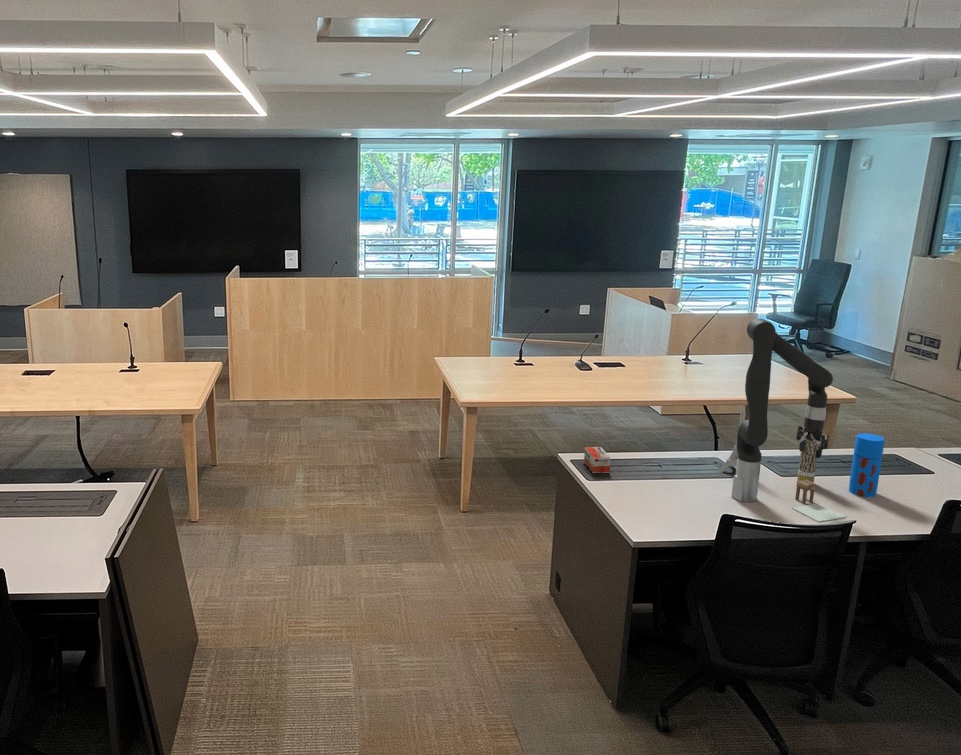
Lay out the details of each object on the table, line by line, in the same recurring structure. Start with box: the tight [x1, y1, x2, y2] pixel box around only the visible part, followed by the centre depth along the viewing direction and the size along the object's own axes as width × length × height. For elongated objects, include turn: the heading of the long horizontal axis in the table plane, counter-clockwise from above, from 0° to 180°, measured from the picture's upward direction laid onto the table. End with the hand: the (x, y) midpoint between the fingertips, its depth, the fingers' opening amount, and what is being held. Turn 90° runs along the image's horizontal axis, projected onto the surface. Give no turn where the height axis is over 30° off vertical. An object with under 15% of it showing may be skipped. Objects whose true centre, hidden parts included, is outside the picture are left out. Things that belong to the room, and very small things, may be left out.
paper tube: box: [796, 433, 819, 483], centre depth 332 cm, size 7×7×25 cm
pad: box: [791, 503, 847, 523], centre depth 303 cm, size 14×14×1 cm
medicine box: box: [583, 446, 611, 473], centre depth 347 cm, size 15×8×8 cm, turn 9°
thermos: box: [848, 432, 885, 498], centre depth 322 cm, size 11×11×25 cm
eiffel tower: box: [716, 408, 747, 474], centre depth 344 cm, size 13×13×30 cm
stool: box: [794, 480, 816, 504], centre depth 314 cm, size 5×5×8 cm
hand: (809, 454), depth 311 cm, fingers open, 8 cm apart
